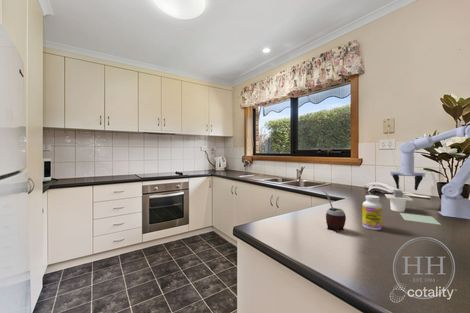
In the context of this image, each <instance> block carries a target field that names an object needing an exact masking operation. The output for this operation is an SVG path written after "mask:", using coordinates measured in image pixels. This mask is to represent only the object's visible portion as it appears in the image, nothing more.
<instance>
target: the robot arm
mask: <svg viewBox="0 0 470 313" xmlns="http://www.w3.org/2000/svg"><path fill="white" fill-rule="evenodd" d="M466 136H467V137H468V138H469V139H470V124H469V125H464V126H463V125H462V126H459V127H455V128H452V129H449V130H447V131H444V132H441V133H438V134H435V135H433V136H428V135H420V137H418V138H414V139H409V141H404V142H402V143H401V144H400V145H399V150H400V160H399V163H400V167H399V168H400V171H389V175H390V176H392V178H393V180H394V182H395V185H396V190H400V177H401V176H402V177H414V191H418V188H419V185H420V184H421V182H422V180H423V178H425V177H426V173H425V172H415V151H419V150H423V149H427V148H430V147H433V145H434V143H437V142H440V141H441V142H442V141H445V140H448V139H451V138H455V137H459V138H460V137H462V138H466ZM399 176H400V177H399ZM469 179H470V155H469V156H468V157H467V158H466V160H465V161H464V163H463V164H462V165H461V167H460V168H459V169H458V171H457V172H456V173H455V174H454V176H453V177H452V178H451V180H450V181H449V182H448V183H446V184H444V185H443V186H442V187H441V193H442V194H441V196H440V197H441V198H440V199H441V201H440V211H437V213H439V214H440V215H441V216H444V217H451V218H452V217H453V218H460V219H467V220H468V219H469V220H470V199H469V198H464V196H462V193H463V188H464V186H465V184H466V183H467V181H468V180H469Z"/></svg>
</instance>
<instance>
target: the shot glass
mask: <svg viewBox="0 0 470 313" xmlns="http://www.w3.org/2000/svg"><path fill="white" fill-rule="evenodd" d="M389 204H390V210H391V211H394V212H399V213H404V212H406V211H405V210H406V205H407V200H398V199H389Z"/></svg>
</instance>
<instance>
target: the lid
mask: <svg viewBox="0 0 470 313" xmlns="http://www.w3.org/2000/svg"><path fill="white" fill-rule="evenodd" d="M384 196H385V197H386V200H387V199H389V200H390V199H398V200H406V201H409V202H410V201H411V202H412V201H414V200H413V198H412V197H410V196H409V195H404V192H403V190H400V189H393V193H392V194H390V193H389V194H387V193H385V194H384Z"/></svg>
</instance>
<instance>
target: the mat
mask: <svg viewBox="0 0 470 313" xmlns="http://www.w3.org/2000/svg"><path fill="white" fill-rule="evenodd" d="M399 215H401V218H403V220H404V221H410V222H417V223H418V222H419V223H425V224H432V225H440V226H441V225H442V224H441V223H440V222H439V221H437V219H436V218H434V217H433V216H429V215H419V214H412V213H404V212H399Z"/></svg>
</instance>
